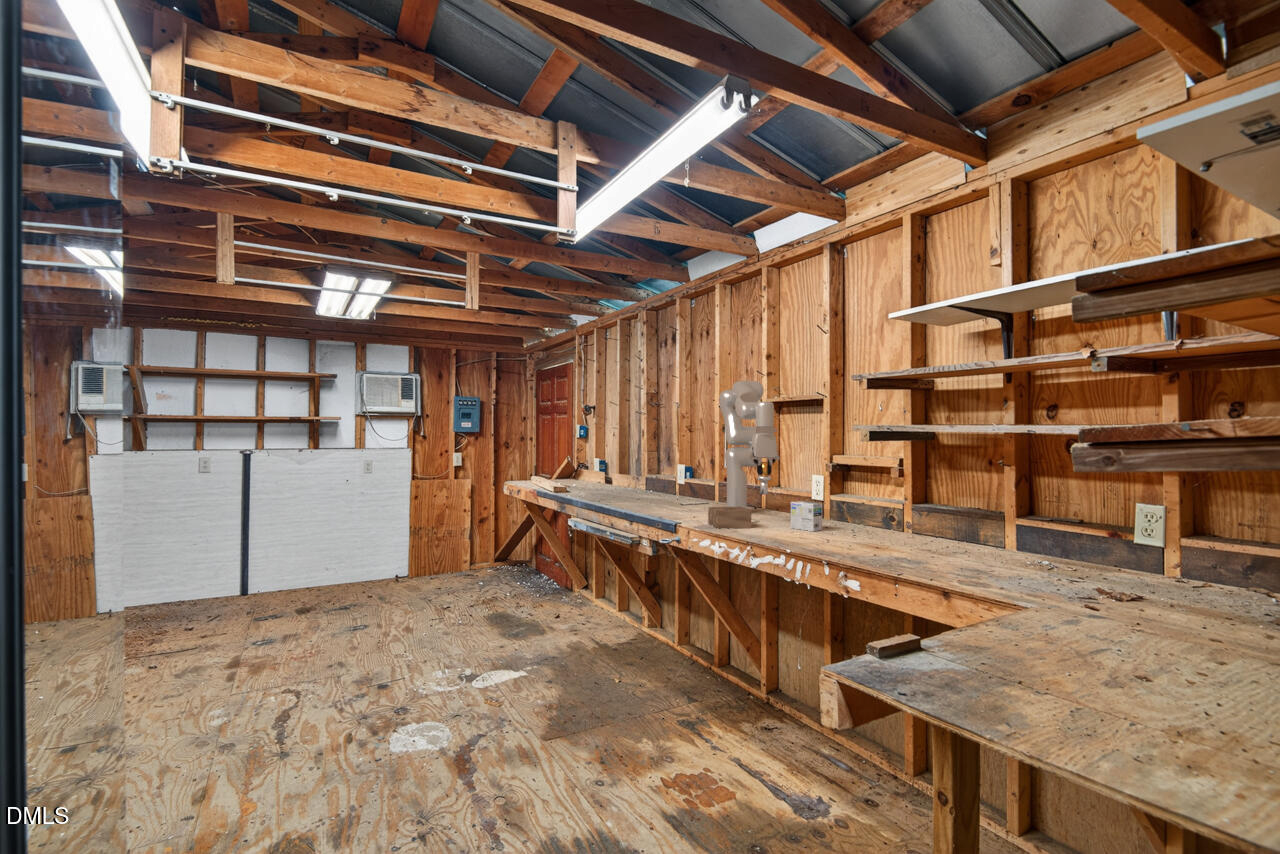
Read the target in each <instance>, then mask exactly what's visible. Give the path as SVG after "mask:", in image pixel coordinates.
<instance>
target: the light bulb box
mask: <svg viewBox="0 0 1280 854" xmlns="http://www.w3.org/2000/svg"><path fill="white" fill-rule="evenodd" d="M791 528H794V529H793V530H798V529H801V530H800V531H805V530H808V532H812V531H814V532H818V530H820V531H822V530H823V503H821V502H820V503H819V502H811V501H801V500H800V501H791V502H790V529H791Z"/></svg>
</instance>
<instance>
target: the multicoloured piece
mask: <svg viewBox="0 0 1280 854" xmlns="http://www.w3.org/2000/svg"><path fill="white" fill-rule="evenodd" d="M761 466H762V475H757V479H756V480H757V481H760V486H759V487H760V489H759V492H760V493H759V494H760V495H768V494H769V493H768V491H769V490H768V488H769V485H768V483H769V481H771V480H772V476H771V475H768V462H767V461H761Z"/></svg>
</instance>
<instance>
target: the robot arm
mask: <svg viewBox="0 0 1280 854" xmlns="http://www.w3.org/2000/svg"><path fill="white" fill-rule="evenodd" d="M764 391H765V390H764V385H763V383H762V382H760V381H758V380H738V381H736V382H735V383H733V385H732V387H731V389H726V390H722V392H720V393H719V398H718V401H719V405H718V406H719V408H720V412H721V414H722V417H723V420H724V430H725V437H726V438H725V439H726V443H727V444H728V445H730V446H733V447H729V448H728V449H726V450H725V453H724V458H725V459H724V460H725V464H726V465H725V467H726V507H743V508H745V509H748V505H747V503H748V492H747V491H748V476H747V473H746V472H745V471H744V469H743V468H756V474H757V476H760V475H762V466H761V462H763V461H762V459H766V462H768V476H771V475H772V473H773V472H772V470H773V469H772V468H773V467H772V466H773V464H774V463H776V462H777V461H778V460H780V459H781V458H780V456H779V454H778V444H777V440H776V439H777V438H776V434H775V433H776V432H777V431H778V430H777V429H778V428H775V427H774V426H775V423H774V419H775V417H774V414H775V413H774V412H775V407H774V406H775V404H774V403H773V402H772V401H760V400H761V399H762V397H763V395H764ZM743 420H755V426H753V425H752V426H750V425H748V426H747V425H743Z"/></svg>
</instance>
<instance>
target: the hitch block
mask: <svg viewBox="0 0 1280 854" xmlns="http://www.w3.org/2000/svg"><path fill="white" fill-rule="evenodd" d="M707 508H708V510H707V511H708V512H707V513H708V516H707V517H708V519H707V521H708V522H707V524H708V525H710V526H712V525H713V526H715V527H716V528H715V527H714V528H715V529H717V528H735V529H752V510H751V509H748V508H747V509H745V508H743V507H727V506H708V507H707ZM713 526H712V527H713Z"/></svg>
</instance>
